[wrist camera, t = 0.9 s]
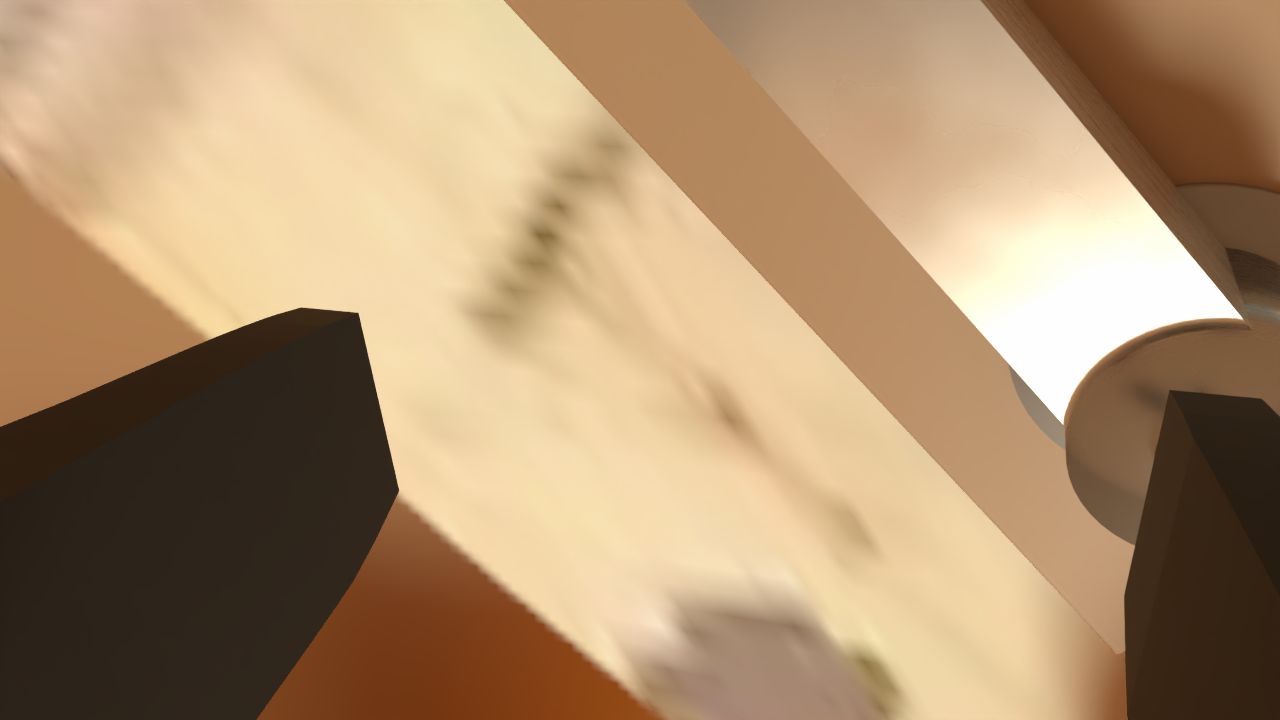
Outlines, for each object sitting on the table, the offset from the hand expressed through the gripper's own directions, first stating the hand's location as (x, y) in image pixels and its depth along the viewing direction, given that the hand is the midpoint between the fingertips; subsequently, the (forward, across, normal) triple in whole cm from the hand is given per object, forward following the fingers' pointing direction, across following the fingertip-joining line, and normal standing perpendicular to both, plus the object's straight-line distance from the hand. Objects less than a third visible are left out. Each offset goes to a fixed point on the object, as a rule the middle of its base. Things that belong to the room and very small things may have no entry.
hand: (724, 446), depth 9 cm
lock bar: (+8, -2, 0) cm, 8 cm away
